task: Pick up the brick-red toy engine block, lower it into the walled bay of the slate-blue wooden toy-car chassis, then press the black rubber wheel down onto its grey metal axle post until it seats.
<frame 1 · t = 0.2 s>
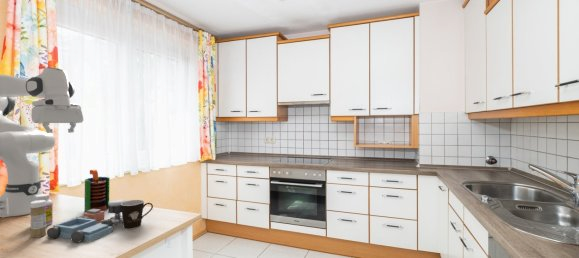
hand: (60, 132, 128), 39 cm above the counter, tool pointing down, fingers open, 8 cm apart
sprinkles bottle: (38, 236, 107), on the counter
motor: (96, 210, 139), on the counter
chassis: (81, 233, 110), on the counter
axle mount: (117, 222, 123), on the counter
engine block: (93, 221, 124), on the counter
coffee mug: (136, 226, 119), on the counter
supplement bottle: (42, 225, 118), on the counter
wheel: (117, 206, 123), point 7 cm above the counter, slide at 3.0 cm
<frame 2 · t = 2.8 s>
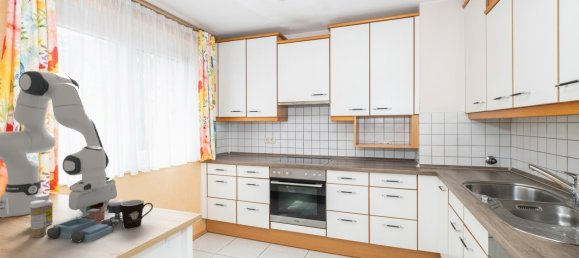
hand: (95, 213, 123), 3 cm above the counter, tool pointing down, fingers open, 7 cm apart
nothing on the counter moved.
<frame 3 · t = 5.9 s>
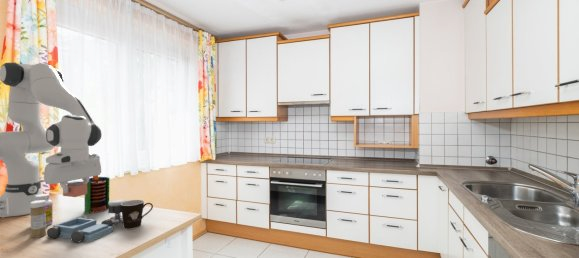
hand: (75, 190, 110), 17 cm above the counter, tool pointing down, fingers closed on engine block, 5 cm apart
engine block: (75, 194, 110), point 15 cm above the counter, touching gripper
everything else where it was.
when the fingers open (5 cm above the counter, at t = 8.4 s): engine block drops 1 cm, resting on chassis.
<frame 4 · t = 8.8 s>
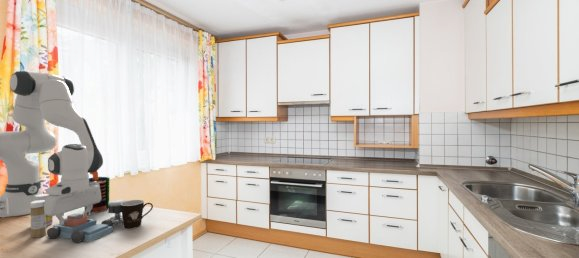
hand: (75, 219, 111), 5 cm above the counter, tool pointing down, fingers open, 8 cm apart
engine block: (75, 227, 111), point 2 cm above the counter, touching chassis
everything else where it was.
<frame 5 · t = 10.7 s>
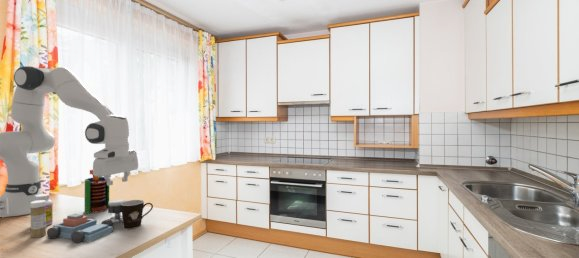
hand: (117, 183, 122), 17 cm above the counter, tool pointing down, fingers open, 6 cm apart
nothing on the counter moved.
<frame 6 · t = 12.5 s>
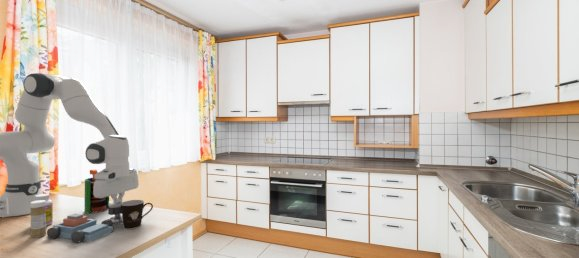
hand: (117, 203, 122), 8 cm above the counter, tool pointing down, fingers closed, pressing on wheel
wheel: (117, 207, 123), point 6 cm above the counter, slide at 2.4 cm, touching gripper
everything else where it was.
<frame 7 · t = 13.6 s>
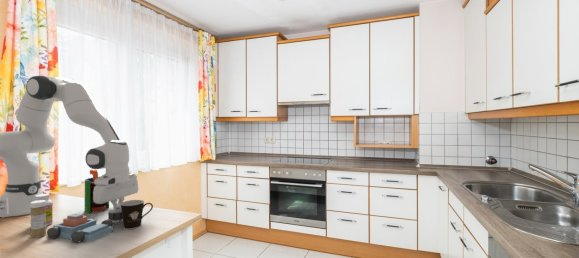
hand: (117, 208, 123), 6 cm above the counter, tool pointing down, fingers closed
wheel: (117, 213, 123), point 4 cm above the counter, slide at 0.0 cm, touching axle mount
everything else where it was.
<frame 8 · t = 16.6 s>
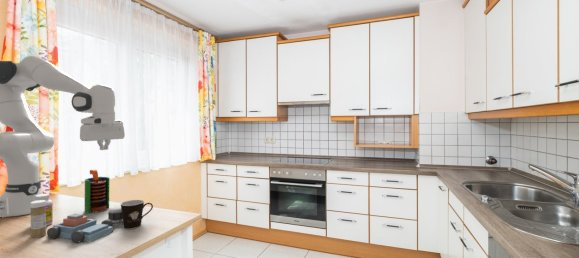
hand: (104, 149, 129), 31 cm above the counter, tool pointing down, fingers closed
nothing on the counter moved.
at the end: engine block 0.1 cm from the target spot on the chassis, point 2.0 cm above the chassis's base; engine block tilted 0°; wheel slide at 0.0 cm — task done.
